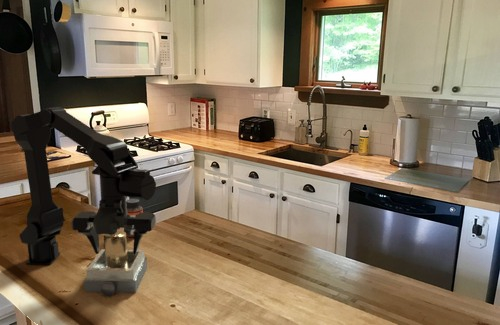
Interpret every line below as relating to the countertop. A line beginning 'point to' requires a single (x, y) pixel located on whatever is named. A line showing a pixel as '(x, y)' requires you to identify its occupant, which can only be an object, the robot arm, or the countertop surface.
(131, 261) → the grey open box
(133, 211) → the supplement bottle
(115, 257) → the spout can
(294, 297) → the countertop surface
